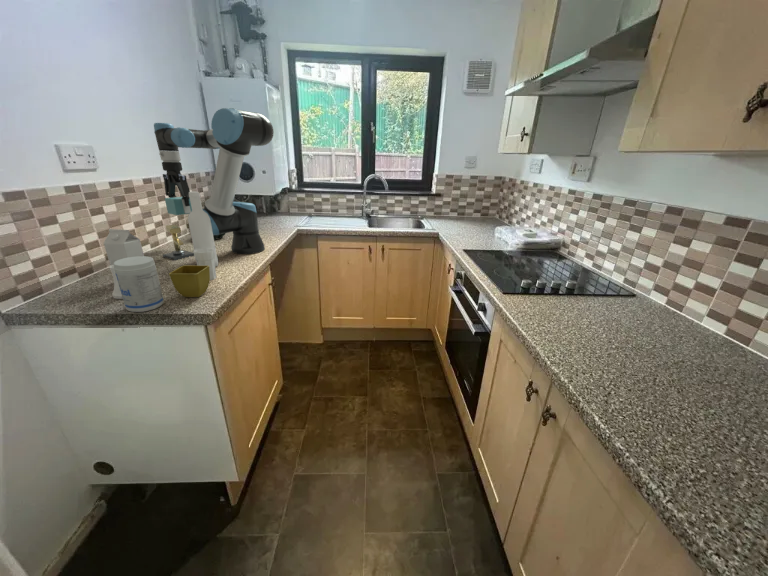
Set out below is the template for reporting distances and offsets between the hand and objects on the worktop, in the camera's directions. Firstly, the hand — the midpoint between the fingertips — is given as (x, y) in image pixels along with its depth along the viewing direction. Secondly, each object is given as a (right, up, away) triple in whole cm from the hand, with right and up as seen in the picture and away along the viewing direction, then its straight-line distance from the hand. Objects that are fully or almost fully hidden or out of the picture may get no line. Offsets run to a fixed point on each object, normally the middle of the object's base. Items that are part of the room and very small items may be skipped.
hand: (181, 212), depth 151 cm
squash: (+2, -9, +25) cm, 26 cm away
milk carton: (+6, -34, -37) cm, 51 cm away
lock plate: (+4, -22, -8) cm, 24 cm away
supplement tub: (+24, -42, -55) cm, 73 cm away
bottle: (+23, -27, -19) cm, 41 cm away
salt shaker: (+12, -39, -47) cm, 62 cm away
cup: (+31, -33, -32) cm, 55 cm away
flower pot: (+34, -39, -46) cm, 69 cm away
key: (+6, -20, -10) cm, 24 cm away
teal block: (0, 0, 0) cm, 0 cm away
